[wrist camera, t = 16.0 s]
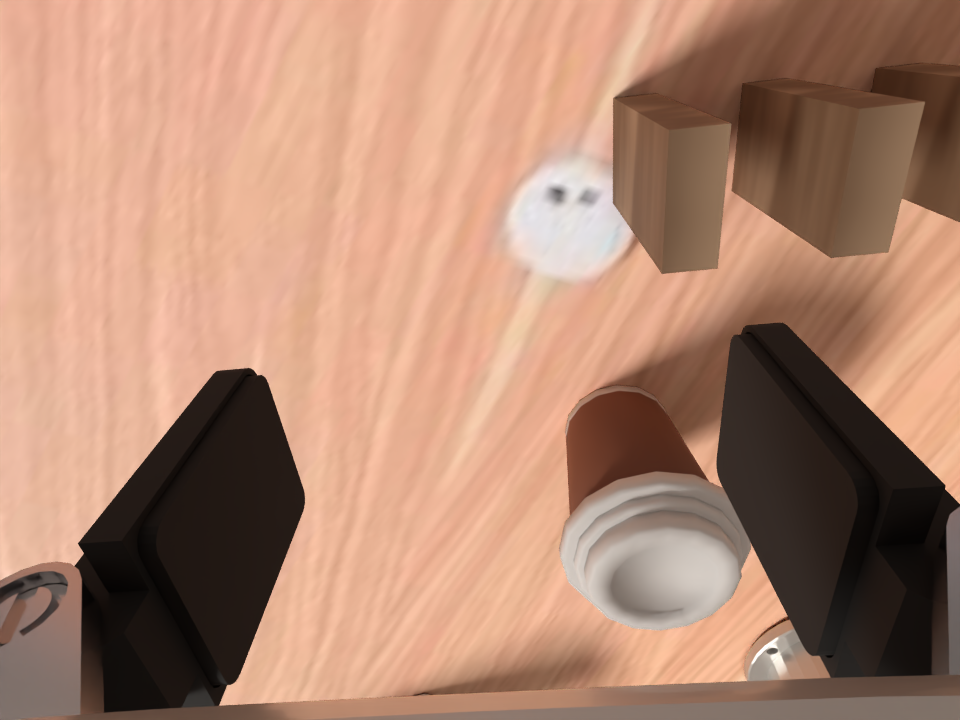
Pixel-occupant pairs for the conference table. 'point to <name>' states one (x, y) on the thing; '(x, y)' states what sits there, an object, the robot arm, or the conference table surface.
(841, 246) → the domino
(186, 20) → the conference table surface
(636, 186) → the domino
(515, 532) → the conference table surface
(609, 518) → the coffee cup
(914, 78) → the domino
